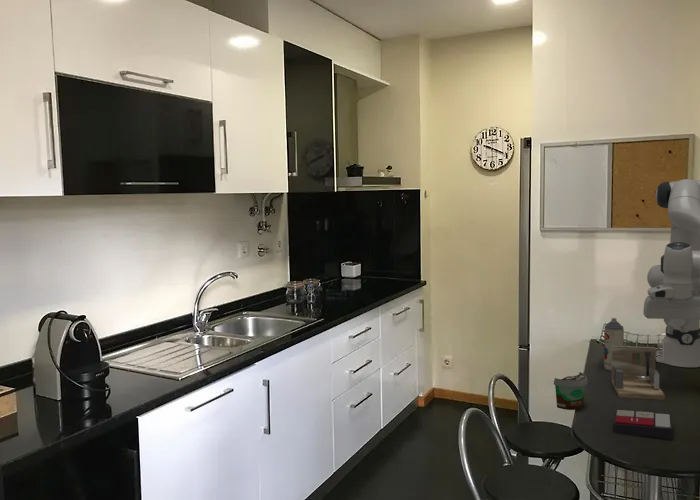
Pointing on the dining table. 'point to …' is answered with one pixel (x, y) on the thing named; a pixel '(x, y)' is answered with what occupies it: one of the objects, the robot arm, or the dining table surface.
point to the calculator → (643, 424)
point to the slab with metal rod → (651, 378)
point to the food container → (570, 392)
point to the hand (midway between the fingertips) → (676, 331)
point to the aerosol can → (612, 341)
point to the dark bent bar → (647, 363)
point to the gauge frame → (633, 372)
